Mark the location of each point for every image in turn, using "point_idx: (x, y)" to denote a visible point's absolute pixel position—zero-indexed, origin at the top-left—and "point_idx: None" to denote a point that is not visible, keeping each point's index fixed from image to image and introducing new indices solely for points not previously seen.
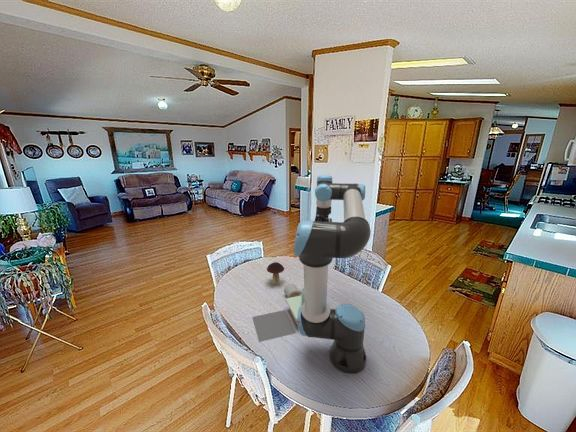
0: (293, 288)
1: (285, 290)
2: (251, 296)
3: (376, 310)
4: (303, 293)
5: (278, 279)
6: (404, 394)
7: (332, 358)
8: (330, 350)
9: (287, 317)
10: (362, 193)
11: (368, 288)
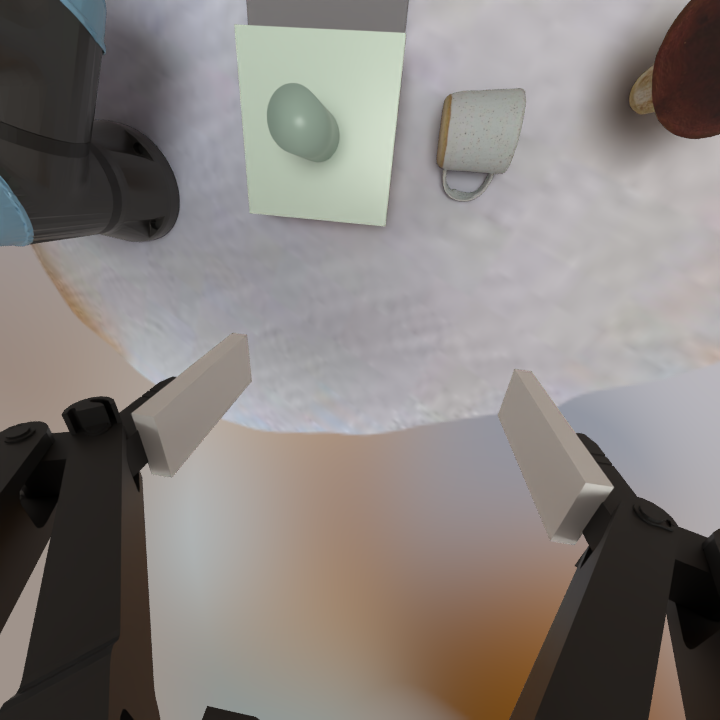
0: (469, 129)
1: (504, 89)
2: None
3: (286, 381)
4: (279, 88)
5: (645, 98)
6: (35, 251)
7: (96, 120)
8: (118, 128)
9: None
10: None
11: (383, 429)
